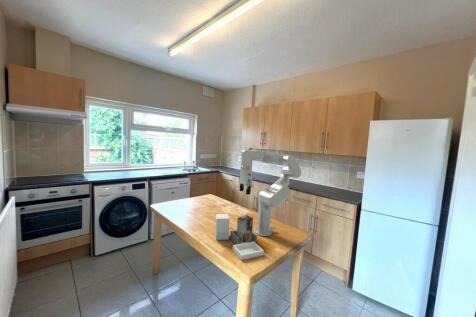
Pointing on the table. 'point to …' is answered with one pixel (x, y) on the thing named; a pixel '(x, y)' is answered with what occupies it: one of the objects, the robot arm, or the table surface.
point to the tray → (248, 250)
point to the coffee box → (244, 229)
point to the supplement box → (222, 227)
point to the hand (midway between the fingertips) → (244, 192)
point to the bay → (236, 240)
